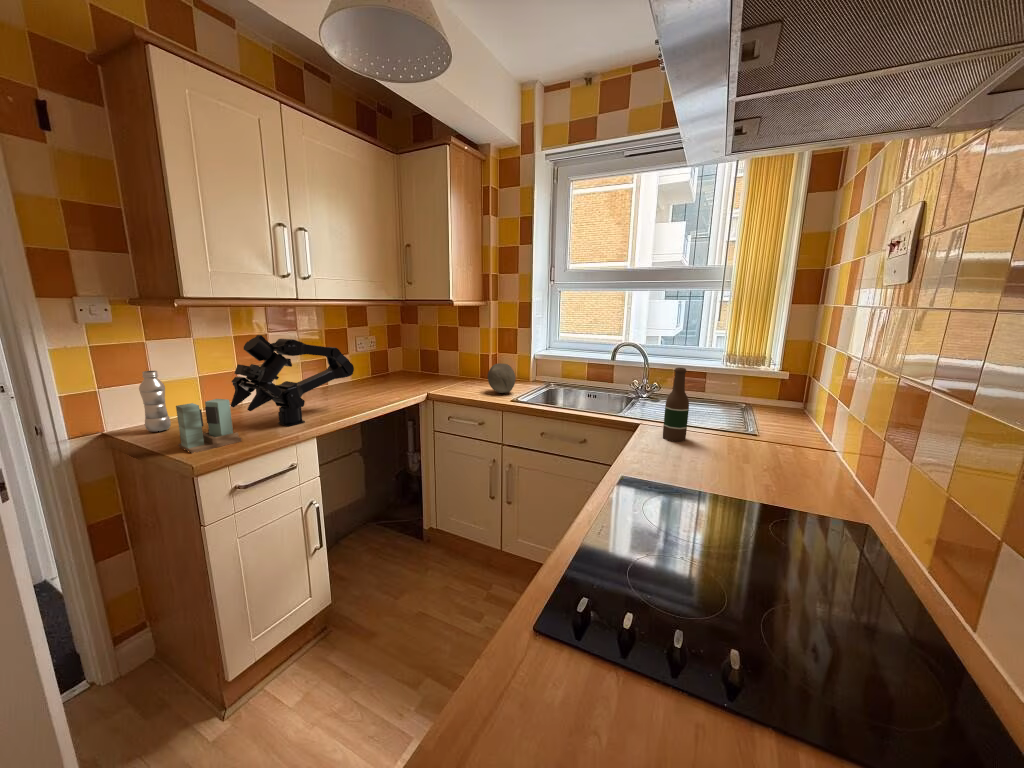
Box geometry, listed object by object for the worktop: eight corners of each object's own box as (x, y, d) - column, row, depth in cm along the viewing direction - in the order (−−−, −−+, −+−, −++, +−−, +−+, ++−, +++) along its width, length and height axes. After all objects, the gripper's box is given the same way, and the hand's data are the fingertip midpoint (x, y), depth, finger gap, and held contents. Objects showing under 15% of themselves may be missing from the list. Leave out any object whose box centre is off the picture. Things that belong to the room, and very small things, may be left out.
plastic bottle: (157, 434, 131) (147, 373, 128) (140, 433, 133) (130, 372, 129) (177, 428, 138) (168, 370, 134) (160, 427, 139) (151, 369, 135)
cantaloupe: (519, 392, 205) (520, 362, 202) (508, 397, 192) (508, 366, 190) (494, 389, 211) (495, 360, 208) (481, 394, 198) (481, 364, 195)
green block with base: (227, 435, 132) (223, 396, 129) (241, 441, 127) (236, 400, 124) (178, 447, 121) (172, 404, 118) (191, 453, 116) (185, 409, 114)
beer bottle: (667, 433, 143) (674, 365, 138) (690, 438, 137) (697, 368, 133) (657, 438, 137) (663, 367, 133) (680, 443, 132) (687, 370, 127)
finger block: (221, 435, 129) (216, 398, 126) (233, 436, 128) (229, 399, 125) (208, 440, 124) (203, 402, 122) (220, 441, 123) (215, 403, 121)
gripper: (233, 352, 135) (201, 391, 128) (268, 356, 127) (235, 398, 120) (260, 372, 144) (231, 409, 137) (294, 377, 135) (265, 417, 128)
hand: (240, 408), depth 130 cm, fingers open, 9 cm apart
